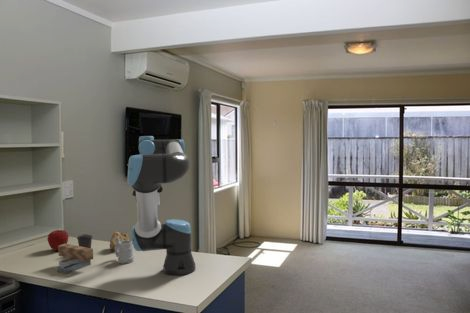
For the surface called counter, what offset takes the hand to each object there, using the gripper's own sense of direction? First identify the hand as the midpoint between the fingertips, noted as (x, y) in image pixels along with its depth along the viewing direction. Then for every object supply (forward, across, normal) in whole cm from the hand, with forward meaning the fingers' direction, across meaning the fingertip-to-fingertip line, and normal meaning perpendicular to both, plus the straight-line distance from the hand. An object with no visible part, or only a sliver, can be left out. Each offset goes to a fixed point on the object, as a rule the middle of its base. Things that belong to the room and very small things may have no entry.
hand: (148, 206), depth 199 cm
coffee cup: (+27, +10, -37) cm, 47 cm away
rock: (+27, -3, -26) cm, 37 cm away
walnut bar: (+22, +28, -23) cm, 42 cm away
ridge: (+27, +29, -22) cm, 45 cm away
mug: (+27, +10, -9) cm, 30 cm away
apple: (+27, +13, -56) cm, 64 cm away
